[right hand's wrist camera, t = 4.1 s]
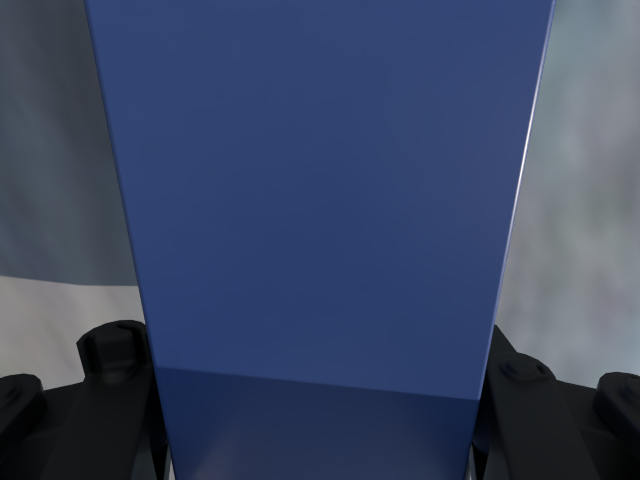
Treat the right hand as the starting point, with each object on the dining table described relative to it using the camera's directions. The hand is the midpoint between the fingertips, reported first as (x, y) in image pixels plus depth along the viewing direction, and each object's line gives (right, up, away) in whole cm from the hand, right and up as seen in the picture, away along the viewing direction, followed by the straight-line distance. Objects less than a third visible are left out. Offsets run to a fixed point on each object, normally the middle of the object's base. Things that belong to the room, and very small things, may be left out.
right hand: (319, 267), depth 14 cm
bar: (0, +9, -3) cm, 9 cm away
